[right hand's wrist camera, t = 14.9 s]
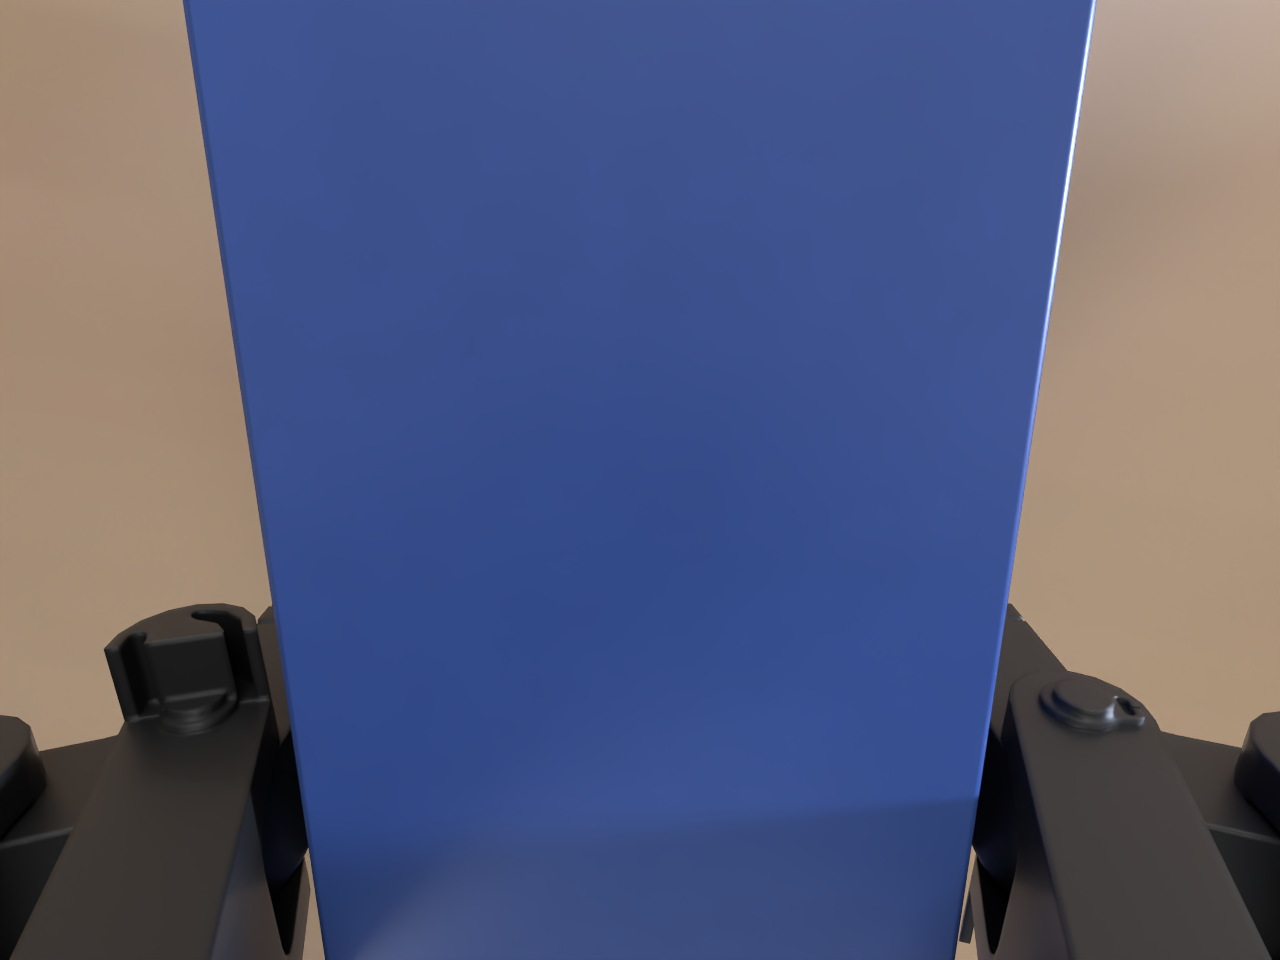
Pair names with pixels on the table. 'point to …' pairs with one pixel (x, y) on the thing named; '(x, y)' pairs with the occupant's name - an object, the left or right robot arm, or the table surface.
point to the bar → (639, 450)
